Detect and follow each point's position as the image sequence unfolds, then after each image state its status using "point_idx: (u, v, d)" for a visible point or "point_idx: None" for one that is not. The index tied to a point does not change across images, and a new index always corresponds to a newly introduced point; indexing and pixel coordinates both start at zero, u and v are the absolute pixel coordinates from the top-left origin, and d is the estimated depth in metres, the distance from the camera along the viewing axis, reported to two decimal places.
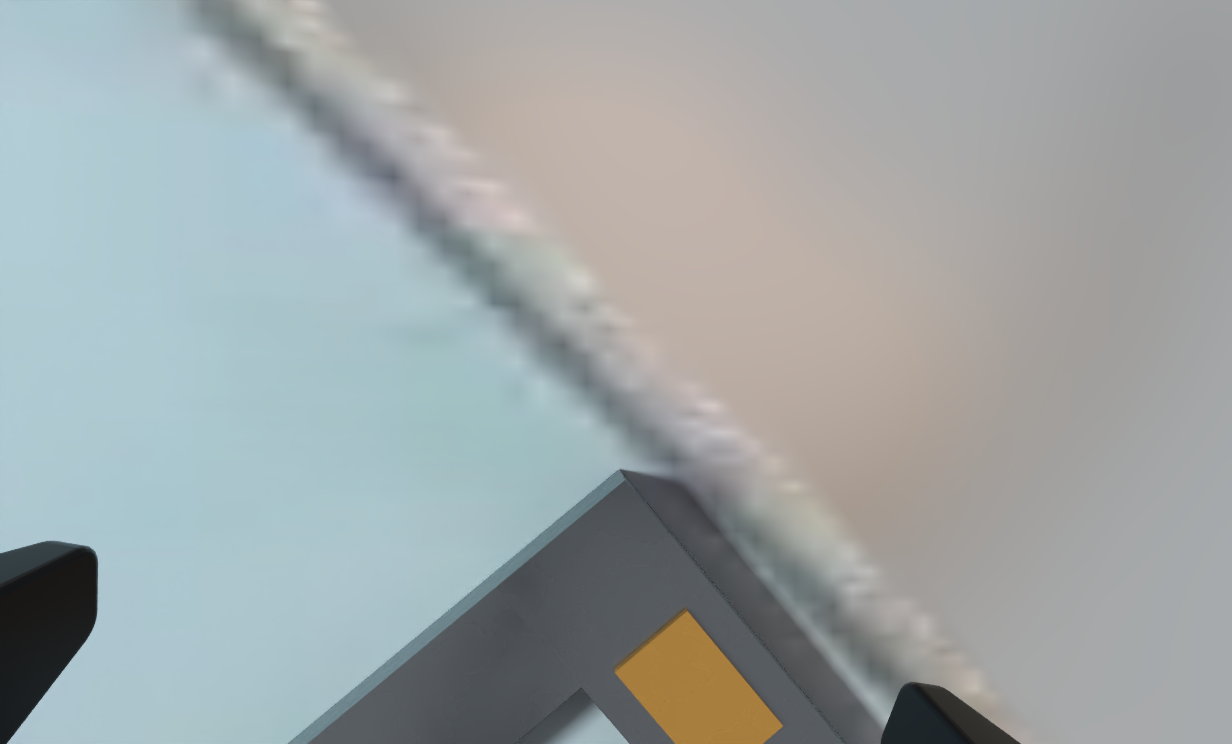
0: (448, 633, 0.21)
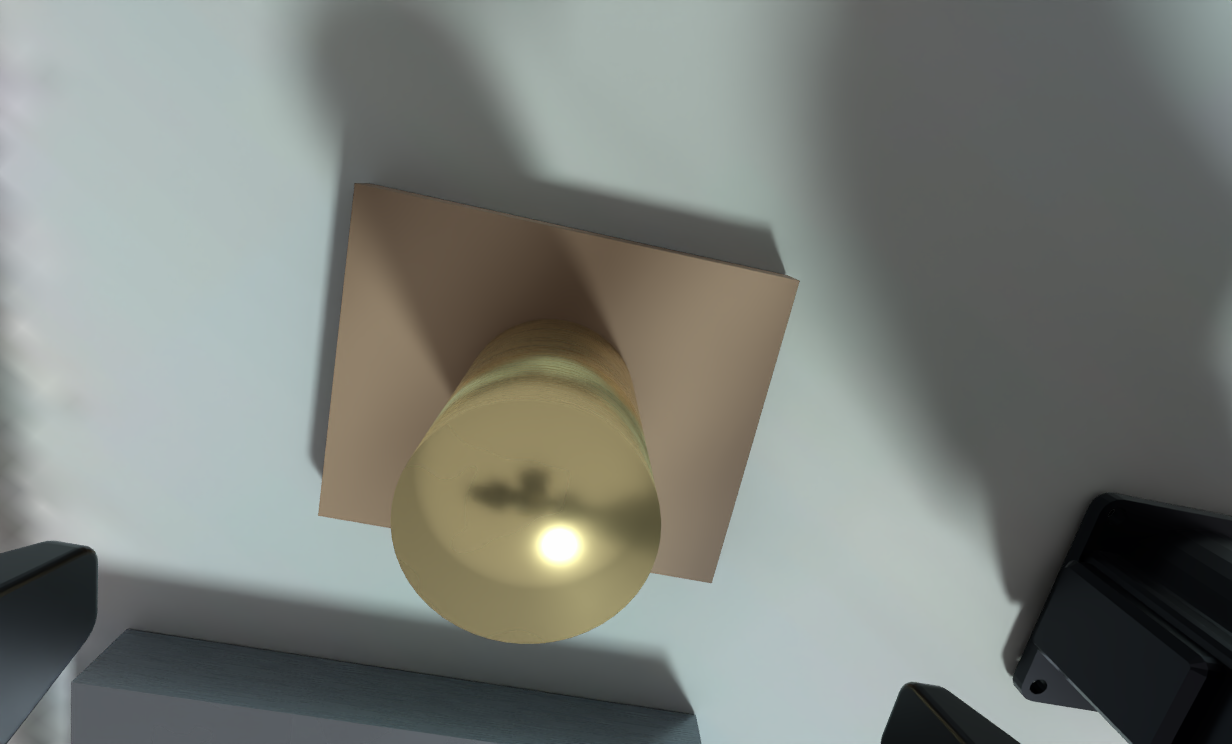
0: None
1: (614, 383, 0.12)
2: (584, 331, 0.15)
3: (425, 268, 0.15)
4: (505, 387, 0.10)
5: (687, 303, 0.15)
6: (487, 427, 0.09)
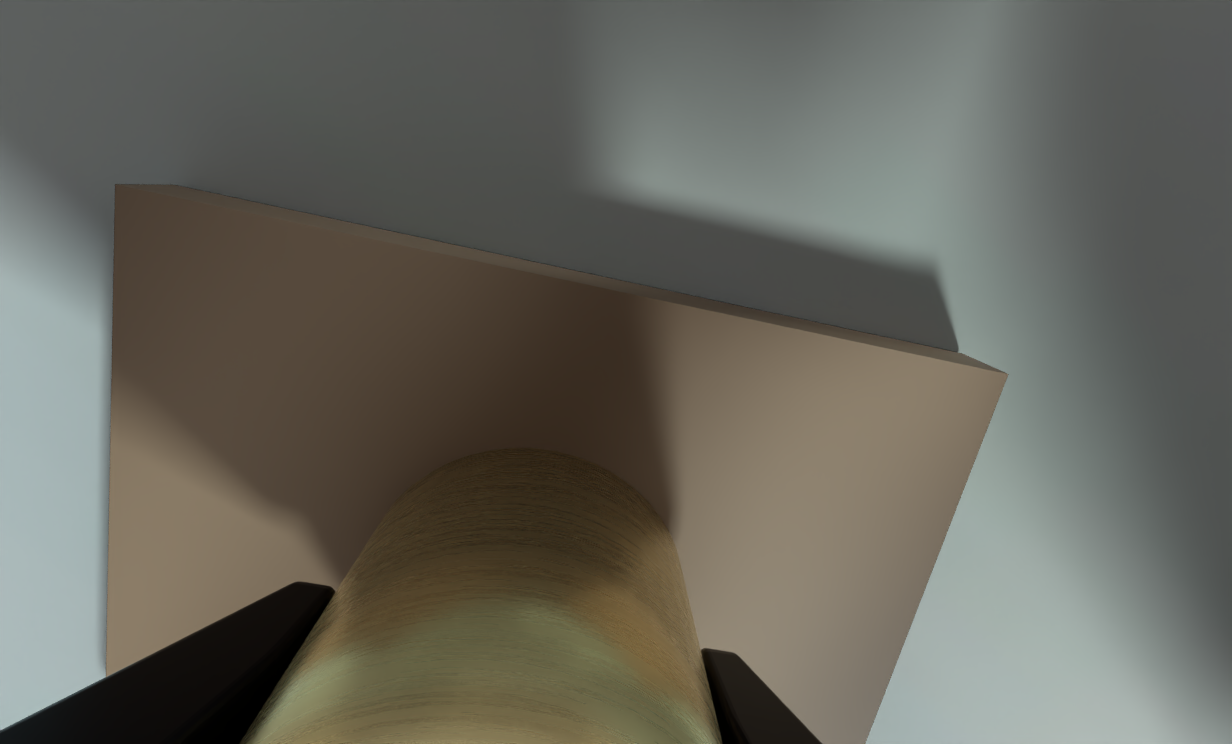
0: None
1: (665, 687, 0.05)
2: (589, 480, 0.07)
3: (272, 353, 0.07)
4: None
5: (789, 417, 0.08)
6: None
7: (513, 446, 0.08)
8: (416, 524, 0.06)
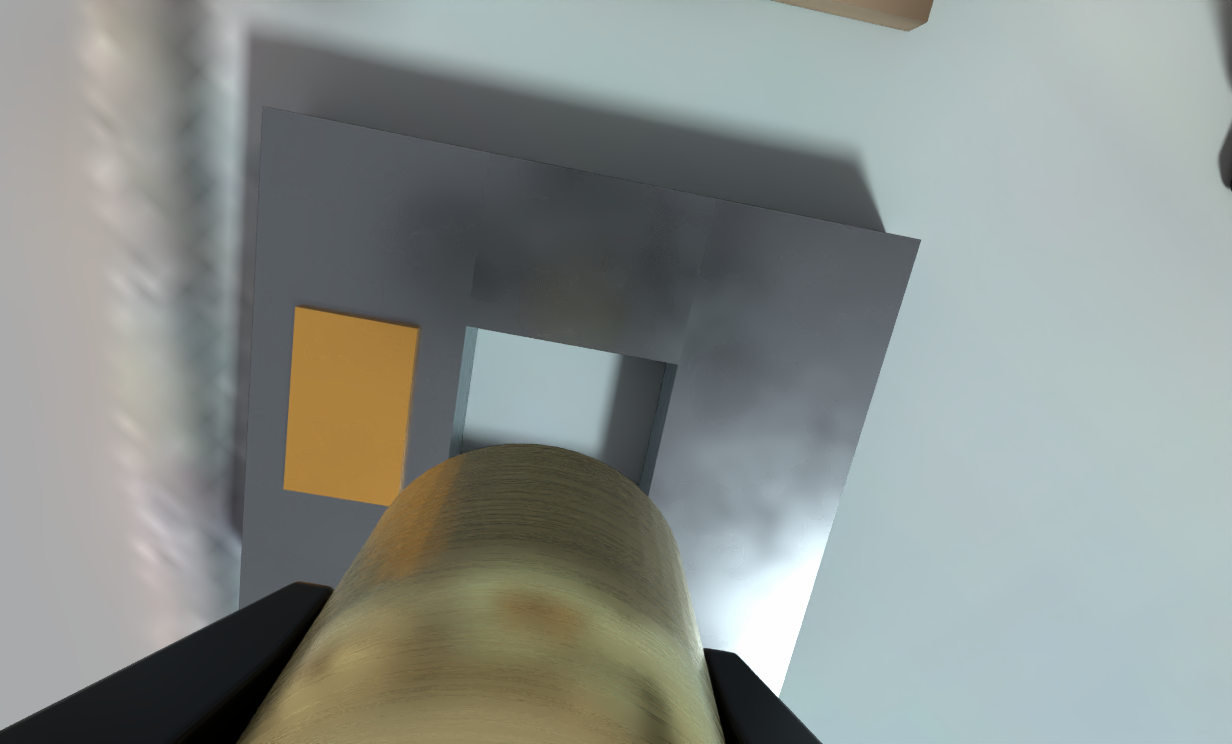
0: None
1: (667, 681, 0.05)
2: (590, 475, 0.07)
3: None
4: None
5: None
6: None
7: None
8: (417, 519, 0.06)
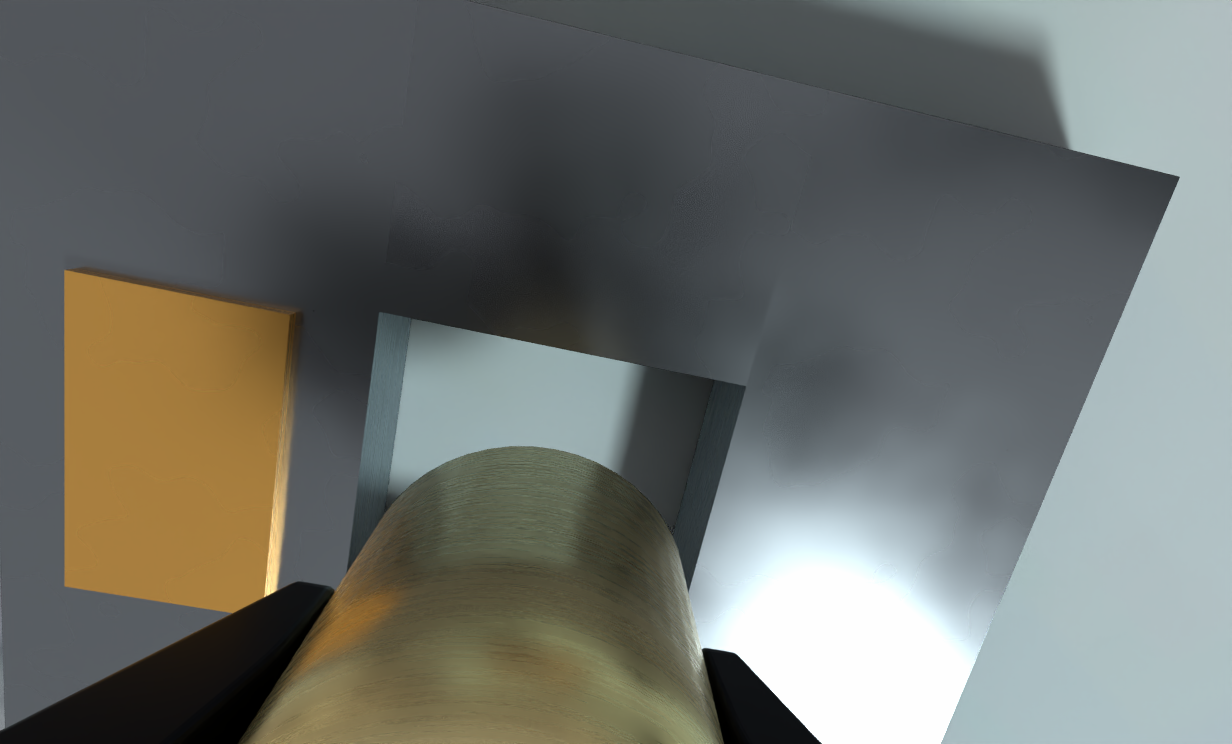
0: None
1: (666, 686, 0.05)
2: (589, 478, 0.07)
3: None
4: None
5: None
6: None
7: None
8: (416, 522, 0.06)
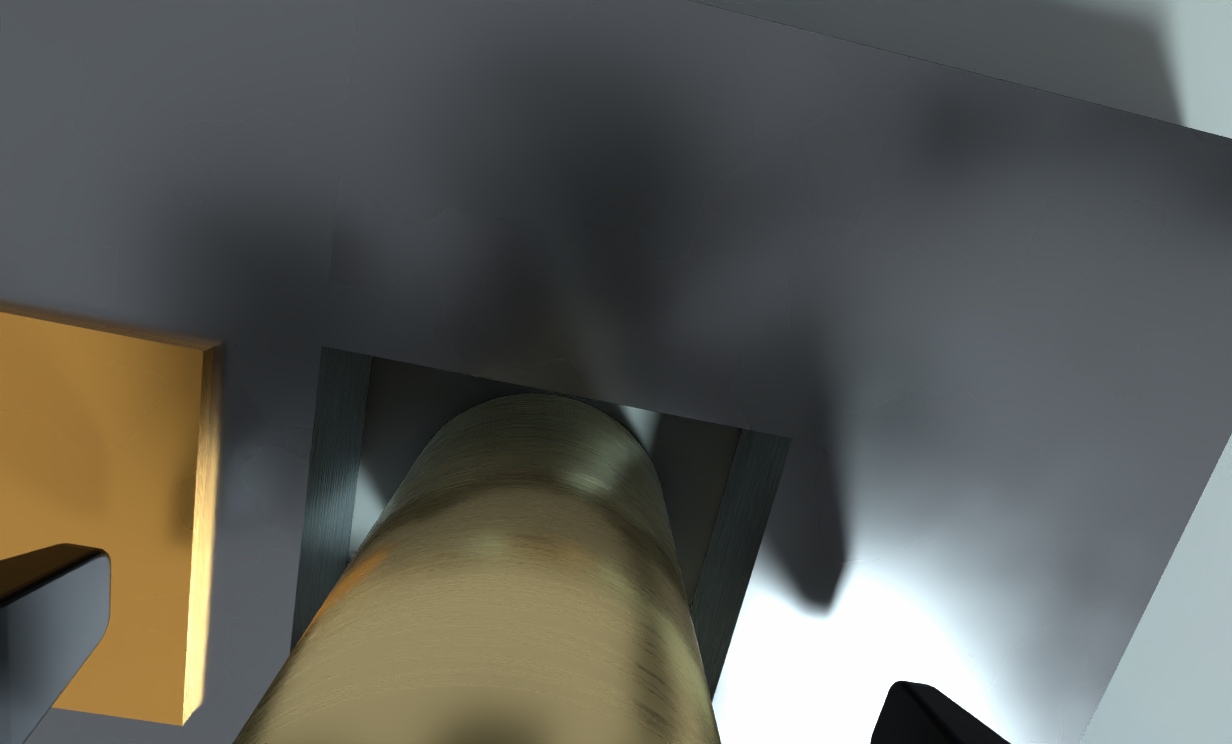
0: None
1: (642, 540, 0.07)
2: (587, 416, 0.09)
3: None
4: (420, 616, 0.05)
5: None
6: None
7: None
8: (455, 443, 0.08)
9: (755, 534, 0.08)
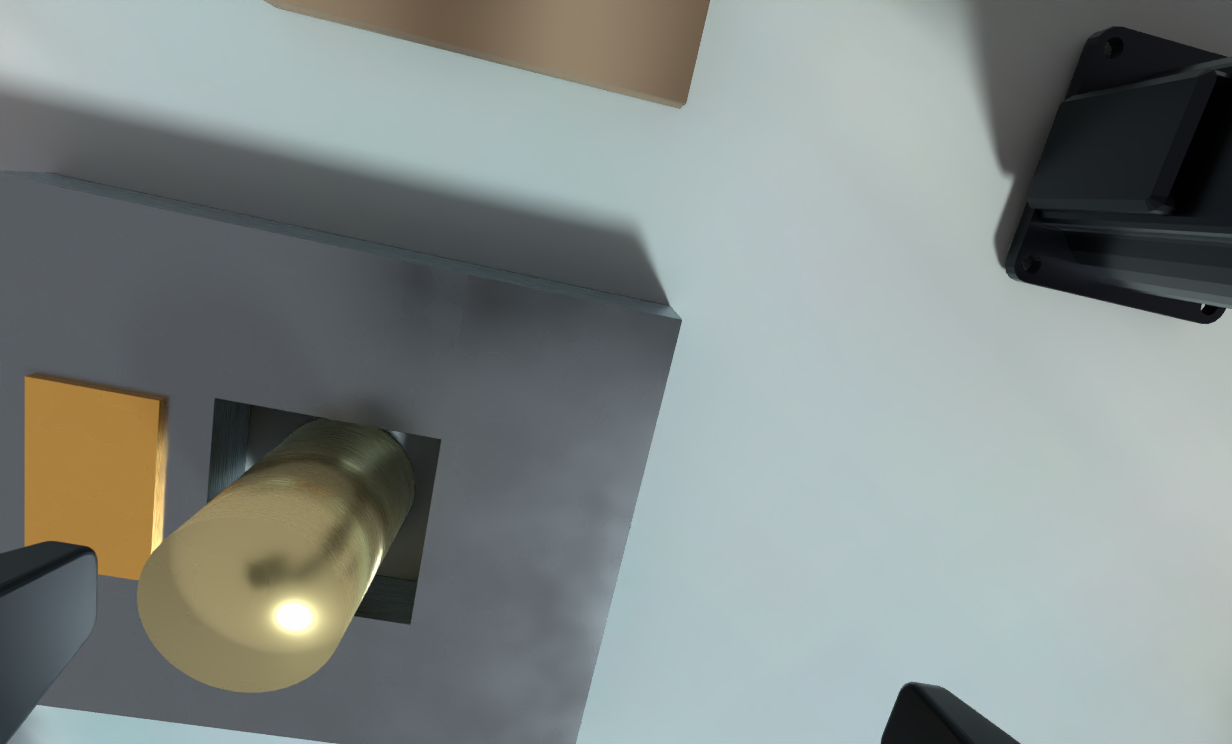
0: (265, 729, 0.19)
1: (352, 483, 0.16)
2: (362, 428, 0.18)
3: None
4: (231, 501, 0.13)
5: None
6: (204, 536, 0.13)
7: None
8: (285, 442, 0.17)
9: None
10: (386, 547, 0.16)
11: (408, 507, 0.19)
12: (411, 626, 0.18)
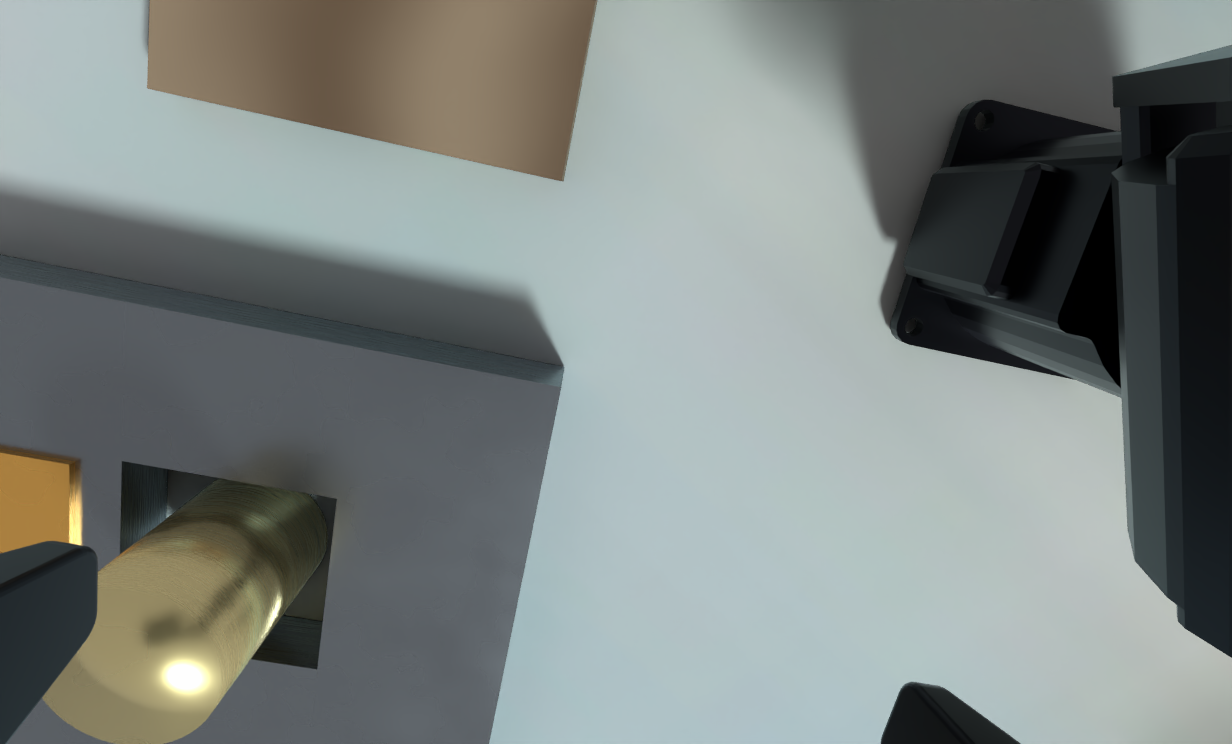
0: None
1: (245, 544, 0.17)
2: None
3: None
4: (117, 569, 0.14)
5: None
6: None
7: None
8: (194, 499, 0.18)
9: None
10: (284, 601, 0.17)
11: (318, 556, 0.20)
12: (318, 671, 0.19)
